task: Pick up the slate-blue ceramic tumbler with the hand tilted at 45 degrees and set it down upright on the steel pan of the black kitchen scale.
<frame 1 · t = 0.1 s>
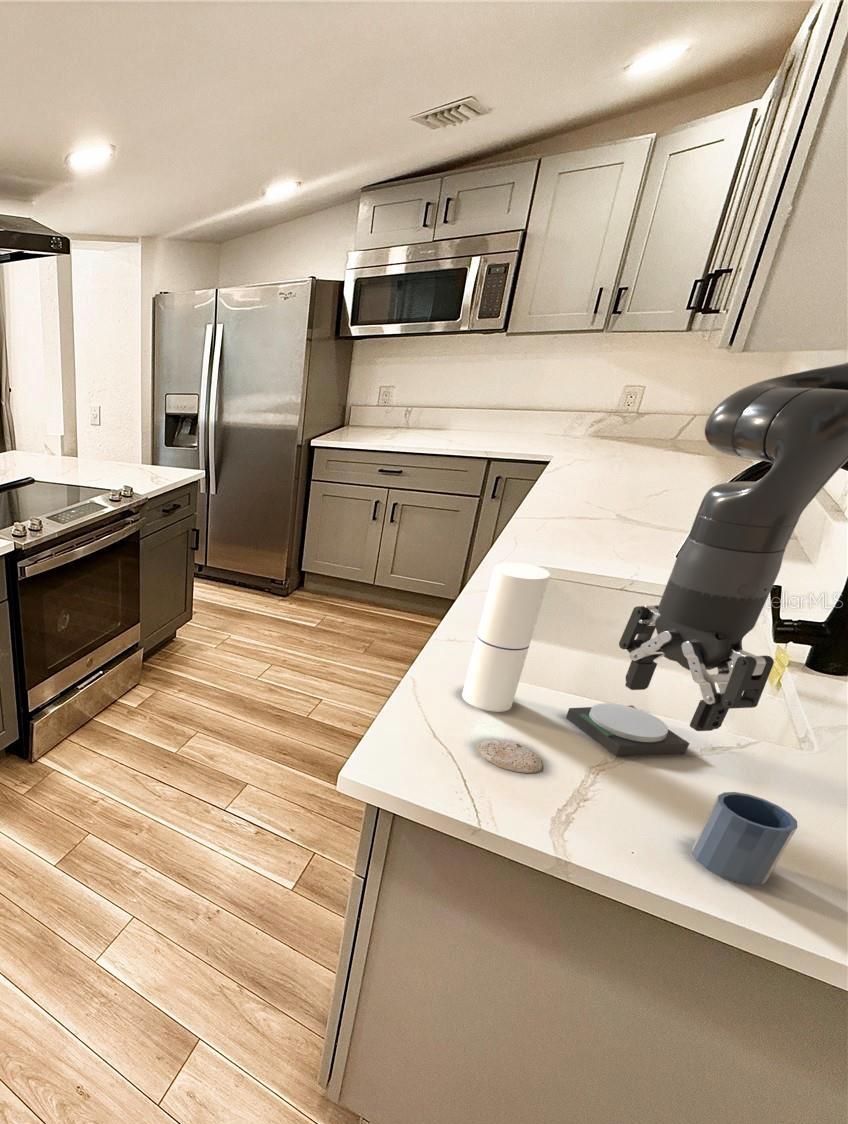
hand: (666, 707, 72), 19 cm above the worktop, tool pointing down, fingers open, 8 cm apart
cylindrical container: (485, 703, 107), on the worktop
flatbread: (507, 759, 93), on the worktop
scale: (621, 738, 96), on the worktop
tumbler: (726, 867, 74), on the worktop
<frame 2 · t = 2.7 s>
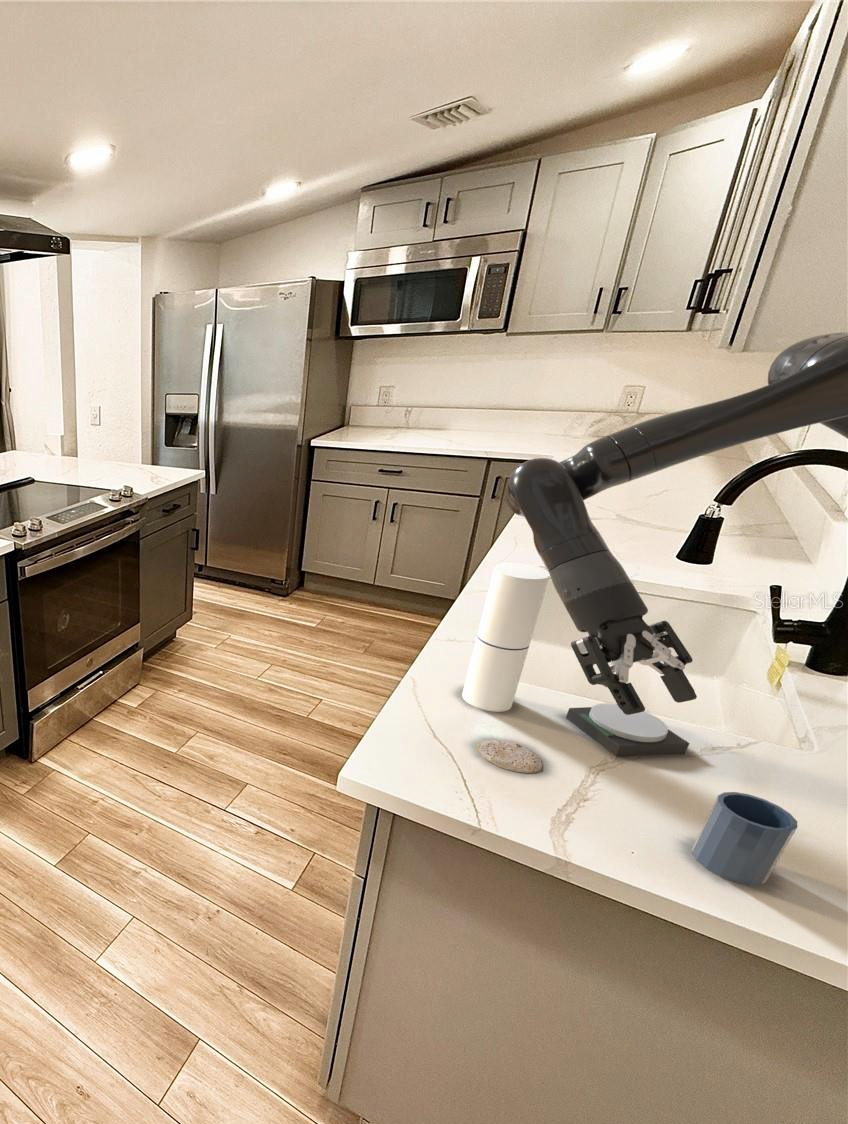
hand: (661, 707, 78), 16 cm above the worktop, tool tilted 45°, fingers open, 8 cm apart
nothing on the worktop moved.
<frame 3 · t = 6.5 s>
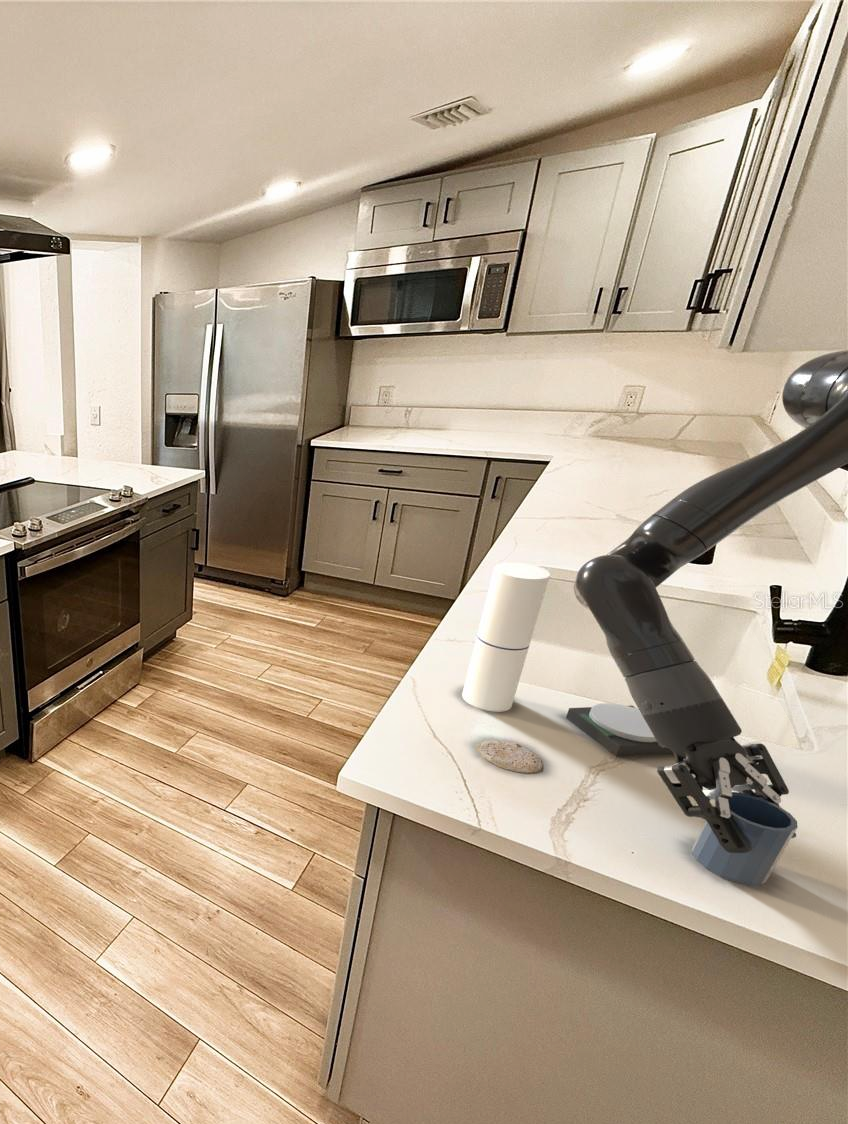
hand: (762, 844, 70), 5 cm above the worktop, tool tilted 45°, fingers closed on tumbler, 6 cm apart
tumbler: (726, 867, 74), on the worktop, touching gripper
everything else where it was.
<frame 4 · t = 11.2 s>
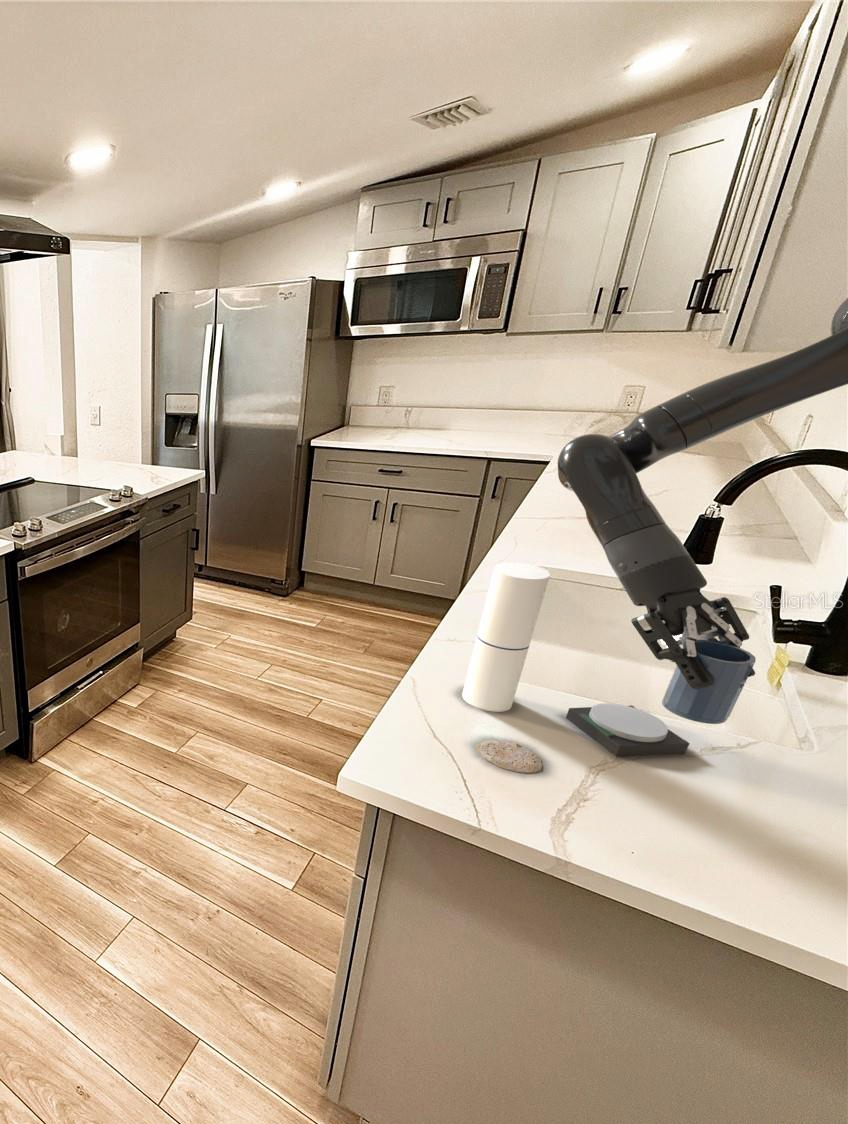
hand: (724, 682, 78), 18 cm above the worktop, tool tilted 45°, fingers closed on tumbler, 6 cm apart
tumbler: (693, 710, 81), point 13 cm above the worktop, touching gripper
everything else where it was.
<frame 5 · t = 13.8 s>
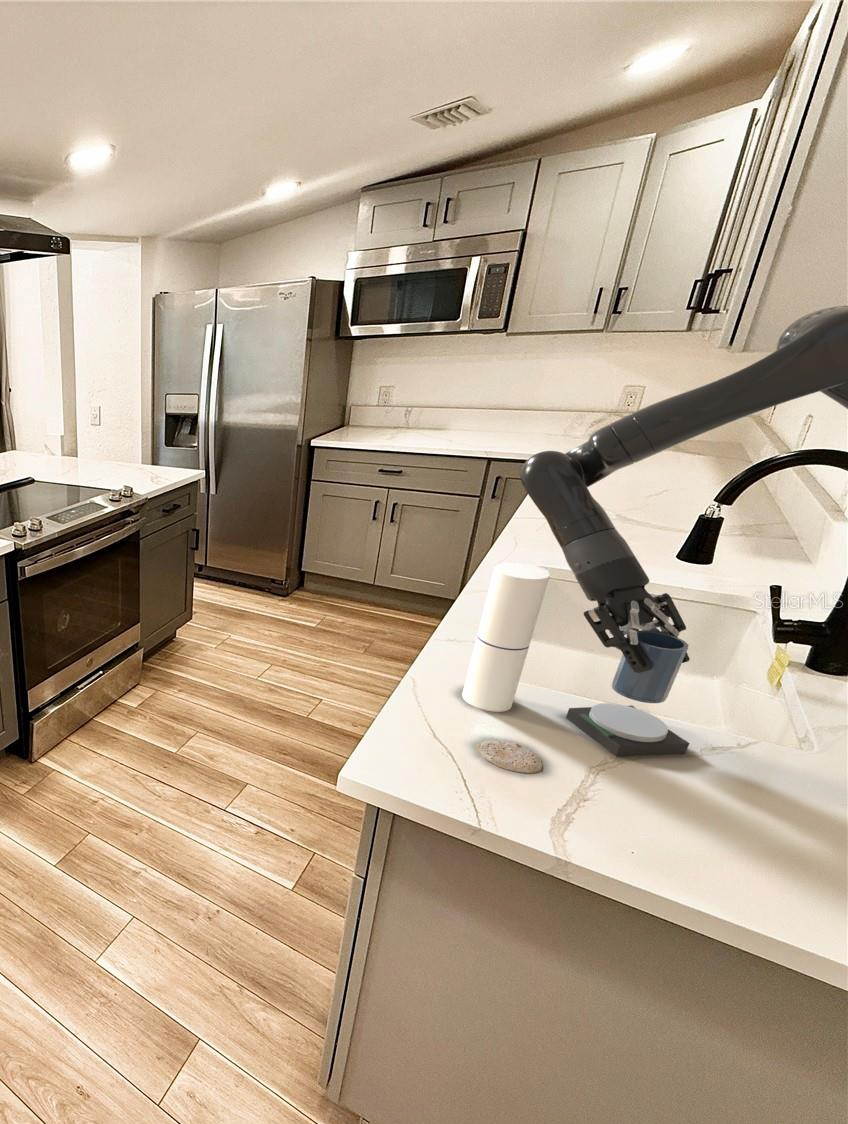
hand: (663, 666, 89), 14 cm above the worktop, tool tilted 45°, fingers closed on tumbler, 6 cm apart
tumbler: (638, 692, 93), point 9 cm above the worktop, touching gripper
everything else where it was.
when the fingers open (9 cm above the worktop, at t = 15.8 s): tumbler stays where it is, resting on scale.
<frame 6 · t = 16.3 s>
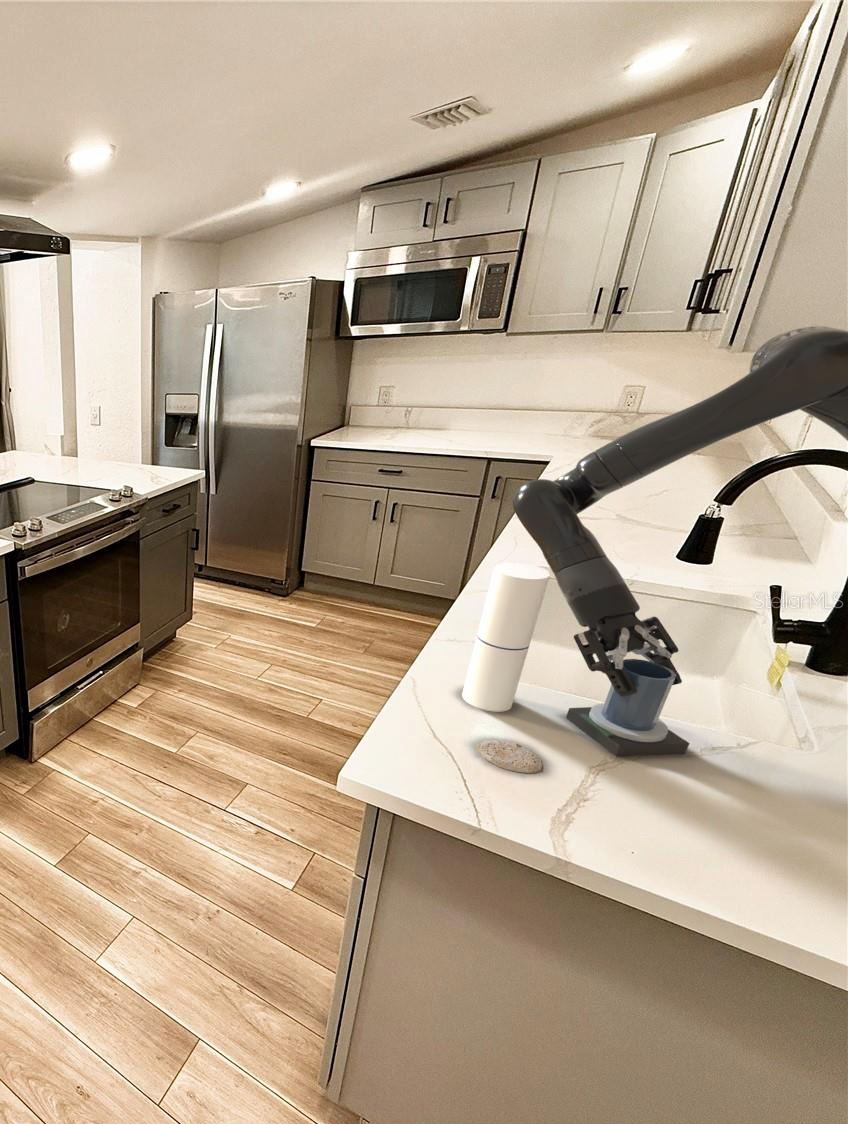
hand: (651, 690, 91), 10 cm above the worktop, tool tilted 45°, fingers open, 8 cm apart
tumbler: (627, 719, 95), point 4 cm above the worktop, touching scale
everything else where it was.
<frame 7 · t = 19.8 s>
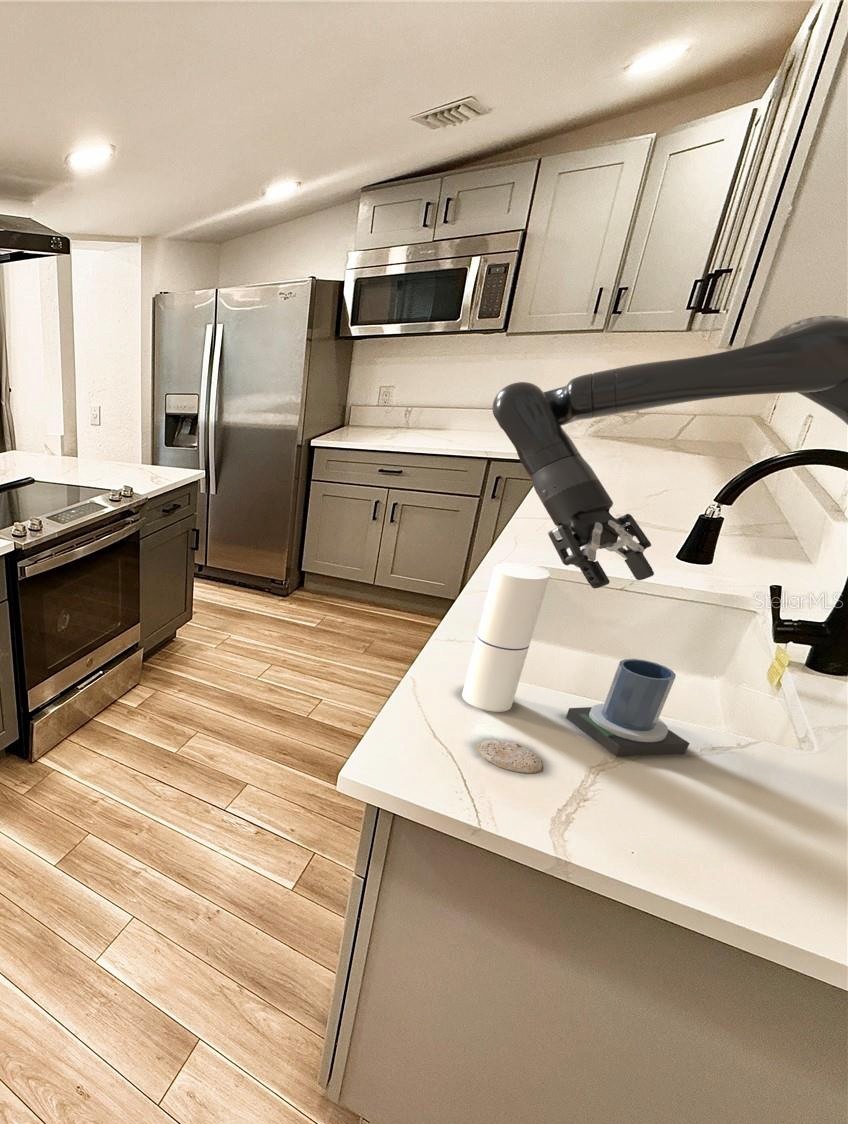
hand: (624, 582, 92), 24 cm above the worktop, tool tilted 45°, fingers open, 8 cm apart
nothing on the worktop moved.
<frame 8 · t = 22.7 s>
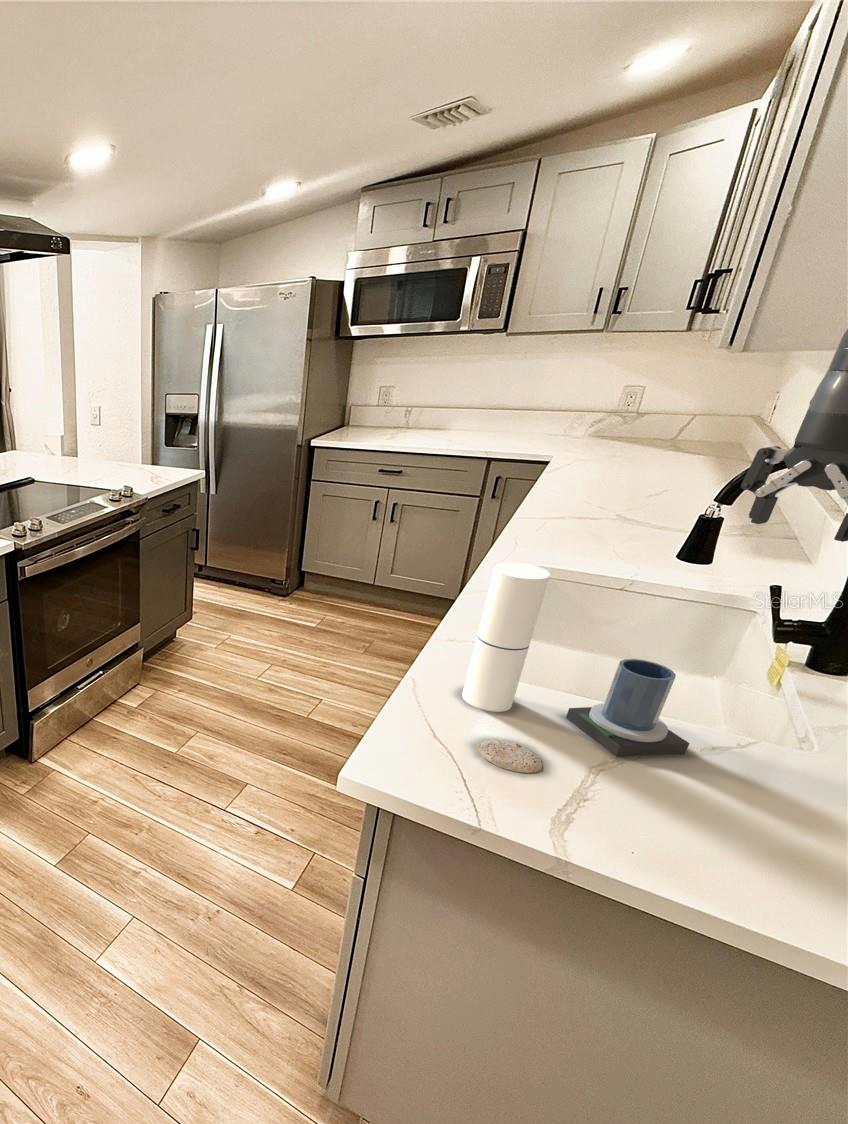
hand: (798, 531, 83), 33 cm above the worktop, tool pointing down, fingers open, 8 cm apart
nothing on the worktop moved.
at the end: tumbler 0.1 cm off-centre on the scale, point 3.6 cm above the scale's base; tumbler tilted 0°; the gripper is holding nothing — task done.
